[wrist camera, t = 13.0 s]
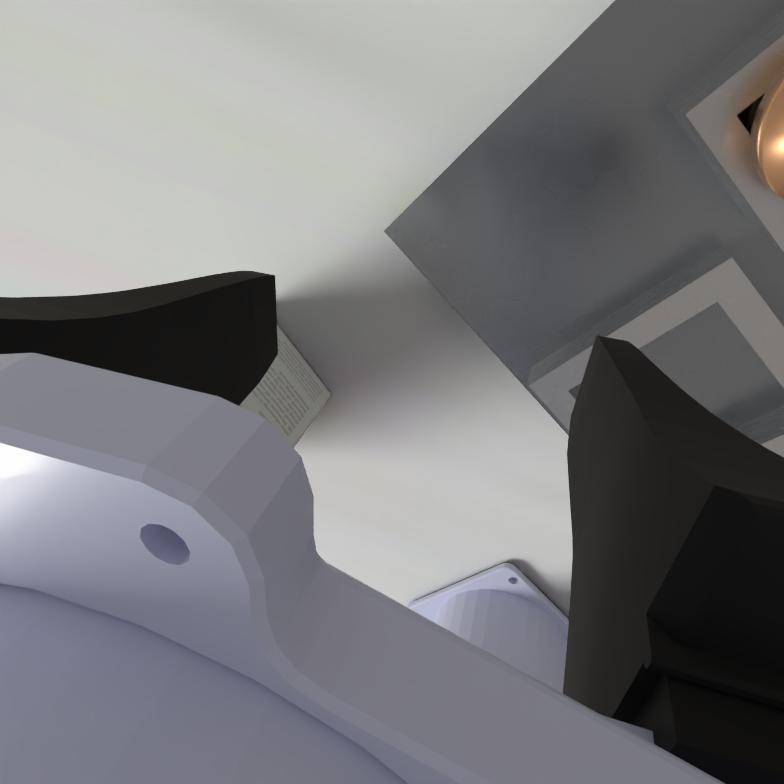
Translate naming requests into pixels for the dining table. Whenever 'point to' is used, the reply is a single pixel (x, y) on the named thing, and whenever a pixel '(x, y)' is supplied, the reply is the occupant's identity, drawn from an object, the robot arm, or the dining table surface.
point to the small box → (288, 393)
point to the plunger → (769, 136)
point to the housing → (626, 213)
